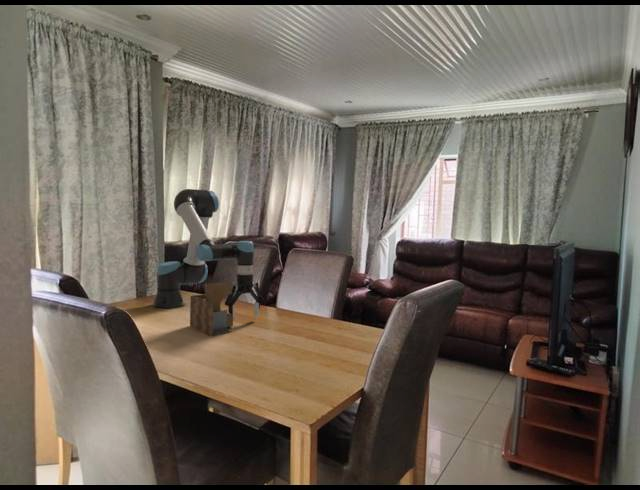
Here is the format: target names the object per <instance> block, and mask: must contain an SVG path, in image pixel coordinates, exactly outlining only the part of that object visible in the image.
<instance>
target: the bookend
mask: <svg viewBox="0 0 640 490" xmlns="http://www.w3.org/2000/svg"><path fill="white" fill-rule="evenodd" d="M227 313H228V309H224V310H221V311H216V312H213V336H212V337H214V336H218V335H223V334H228V333H232V330H230V329H228V327H227Z"/></svg>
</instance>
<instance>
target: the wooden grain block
mask: <svg viewBox="0 0 640 490" xmlns="http://www.w3.org/2000/svg"><path fill="white" fill-rule="evenodd" d="M189 298H190V299H189V300H190V302H189V303H190V306H189V308H190V312H189V327H191V328H193V329H195V330H197V331H199V332H201V333H203V334H205V335H207V336H208V337H214V336H213V303H211V302H208V301H206V300H203V299H205V293H204V294H194V295H190V297H189Z"/></svg>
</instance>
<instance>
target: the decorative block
mask: <svg viewBox="0 0 640 490" xmlns="http://www.w3.org/2000/svg"><path fill="white" fill-rule="evenodd" d="M232 285H233V284H232V282H230V281H221V282H213V283H212V282H211V283H205V284H204V294H205V300H206V301H208V302H211V303H213V312H216V311H222V309H221V308H222V307H221V305H222V304H221V303H222V302H223V299H225V298H227V297H228V295H230V294H232ZM233 326H234V321H233V317H232V316H231V315H230V313H229V312H227V328H230V327H231V328H232V327H233Z"/></svg>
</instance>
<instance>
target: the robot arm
mask: <svg viewBox="0 0 640 490" xmlns="http://www.w3.org/2000/svg"><path fill="white" fill-rule="evenodd" d="M219 202H220V201H219V198H218V195H217V193H216V192H215V191H214V190H208V189H191V188H186V189H185V188H184V189H182V190H181V191H179V192H178V193H177V194H176V195H175V198H174V199H173V207H174V208H173V209H174V211H175V212H176V214H177V216H178V217H181V219H182V221H183V223H184V224H185V226H186V228H187V230H188V232H189V233H190V234H189V239H188V246H187V253H186V254H187V255H186V256H185V258H183V261H182V263H181V262H180V261H176V260H175V261H166V262H161V263H160V264H159V265H157V270H156V271H157V272H156V274H157V275H156V290H157V291H156V293H155V297H154V299H153V307H155V308H158V309H173V308H179V307H181V306H184V298H183V296H182V294H181V286H184V285H185V286H186V285H193V284H194V285H195V284H200V283H203V282H204V281H206V279H207V277H208V274H209V273H208V272H209V270H208V265H207V264H206V262H210V261H224V260H227V261H228V260H234V261H237V262H236V265H237V266H236V273H237V274H236V282H237V283H236V284H232V294H230V295H227V296H226V300H225V302H224V305H225V306H227V308H228V309H227V313H229V314H230V315H231V316H232V317H233V322H234V321H235V306H234V305H235V304H236V302H237V301H238V299H239V298H240V296H242V295H245V294H250V295H251V297H252V298H253V300H254V304H253V305H254V308H253V310H254V311H253V314H254V315H253V316H256V317H259V313H260V311H259V310H260V308H261V303H262V302H263V301H264V300H265V299H264V297H263V294H262V292H261V289H260V287H259V283H258V282H257V281H256V282H255V281H254V274H253V273H254V255H255V254H254V251H255V249H254V242H253V241H251V240H239V241H237V243H235V242H227V243H221V244H219V243H218V244H216V243H215V242H214V240H213V239H212V236H211V235H210V234H209V231H208V228H209V222H210V219H212V218H213V216H214V213H216V212H218V210H219V207H220V203H219ZM253 288H254V290H253Z"/></svg>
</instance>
